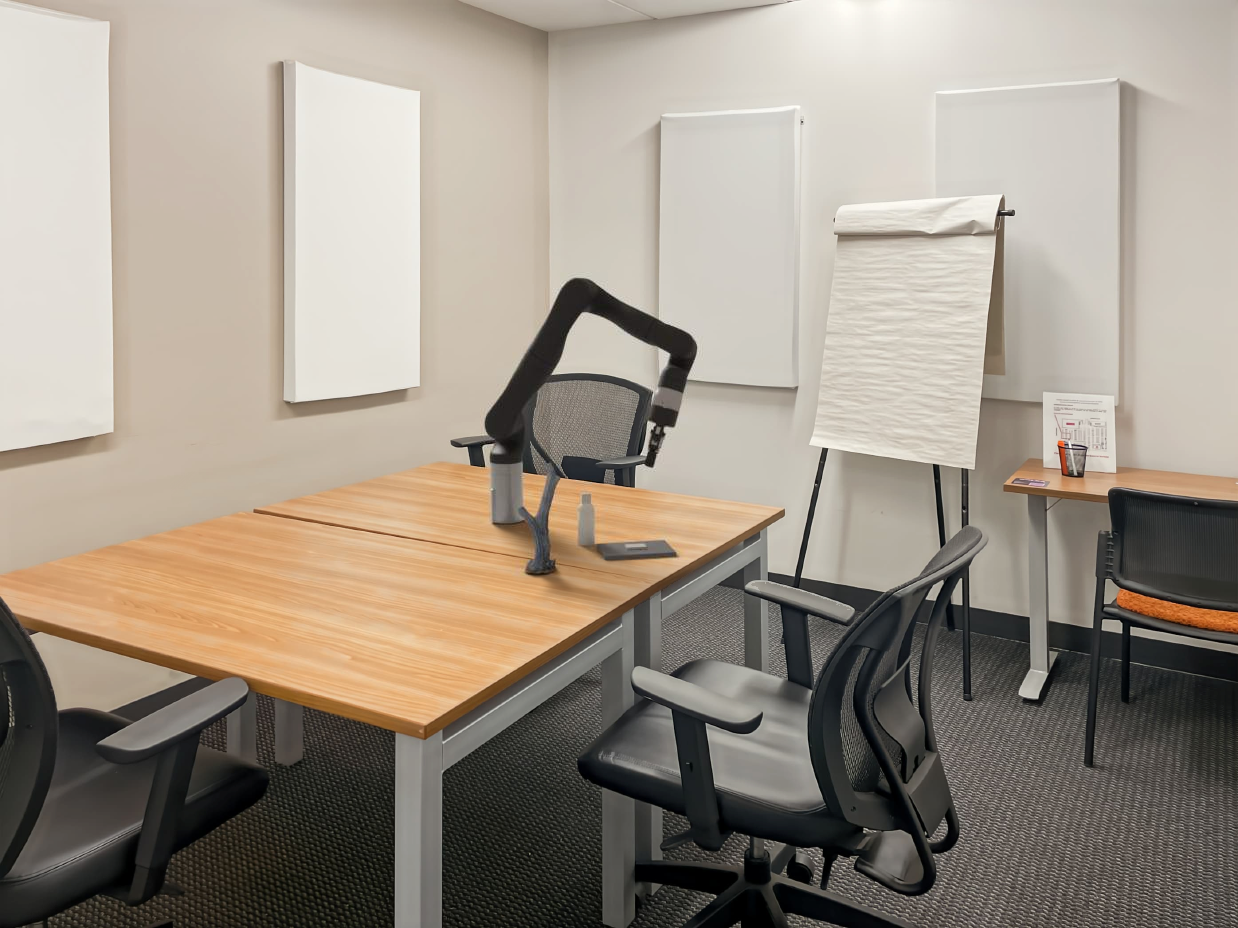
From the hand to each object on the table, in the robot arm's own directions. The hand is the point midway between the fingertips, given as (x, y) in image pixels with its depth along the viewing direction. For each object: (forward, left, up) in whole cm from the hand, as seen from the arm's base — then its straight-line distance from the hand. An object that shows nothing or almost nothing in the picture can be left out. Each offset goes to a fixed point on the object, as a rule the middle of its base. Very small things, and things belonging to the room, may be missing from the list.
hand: (648, 466), depth 252 cm
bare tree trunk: (-31, -20, -20) cm, 42 cm away
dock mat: (-6, -10, -20) cm, 23 cm away
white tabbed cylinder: (-17, 0, -20) cm, 26 cm away
